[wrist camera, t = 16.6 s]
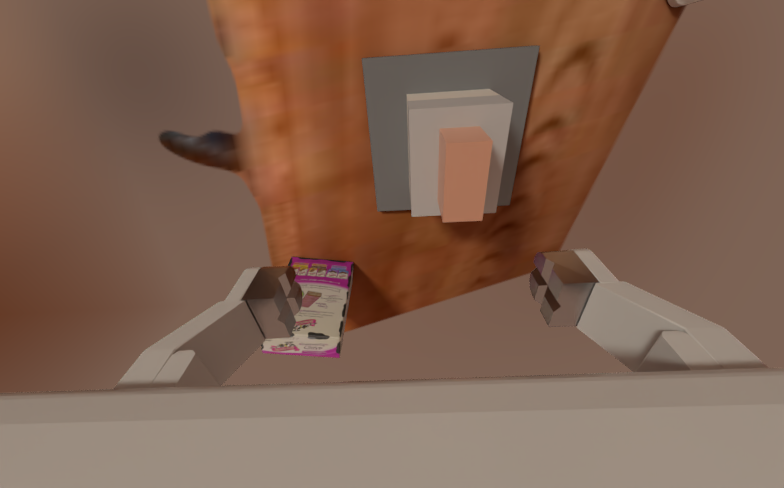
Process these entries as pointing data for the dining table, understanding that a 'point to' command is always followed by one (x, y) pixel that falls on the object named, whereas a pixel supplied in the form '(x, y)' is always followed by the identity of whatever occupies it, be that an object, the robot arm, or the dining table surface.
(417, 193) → the white stack on tray
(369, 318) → the dining table surface
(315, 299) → the candy bar box
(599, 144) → the dining table surface
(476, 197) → the terracotta brick
